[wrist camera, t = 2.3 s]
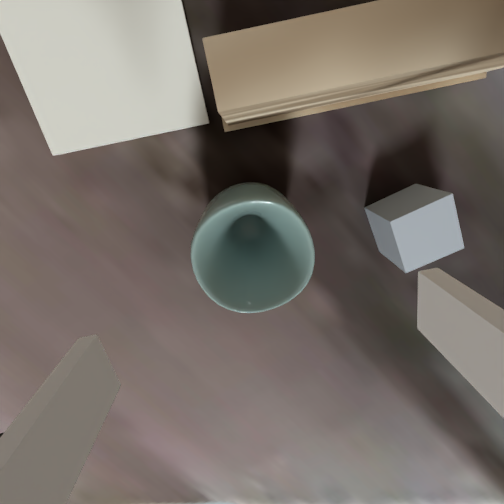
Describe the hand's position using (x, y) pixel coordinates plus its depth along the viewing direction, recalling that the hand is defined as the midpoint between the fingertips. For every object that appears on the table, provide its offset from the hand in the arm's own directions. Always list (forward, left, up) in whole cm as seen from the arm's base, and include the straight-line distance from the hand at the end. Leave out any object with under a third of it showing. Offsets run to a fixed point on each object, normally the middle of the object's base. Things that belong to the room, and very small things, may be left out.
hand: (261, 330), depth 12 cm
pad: (-15, -8, -17) cm, 24 cm away
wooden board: (-9, +10, -17) cm, 21 cm away
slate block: (+3, +14, -17) cm, 22 cm away
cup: (0, 0, -17) cm, 17 cm away
